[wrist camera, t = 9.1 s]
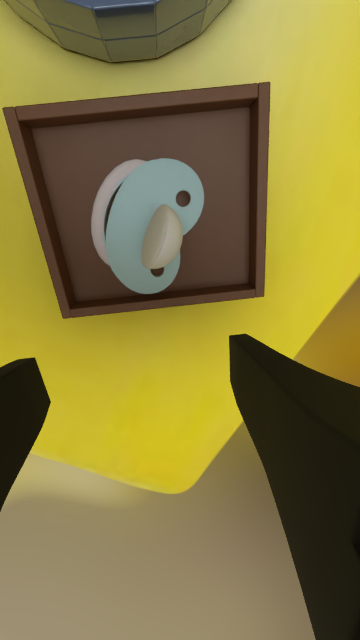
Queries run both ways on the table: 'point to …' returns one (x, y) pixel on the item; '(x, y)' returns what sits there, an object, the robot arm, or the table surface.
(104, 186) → the pacifier
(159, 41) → the bowl
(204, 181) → the tray
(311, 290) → the table surface
